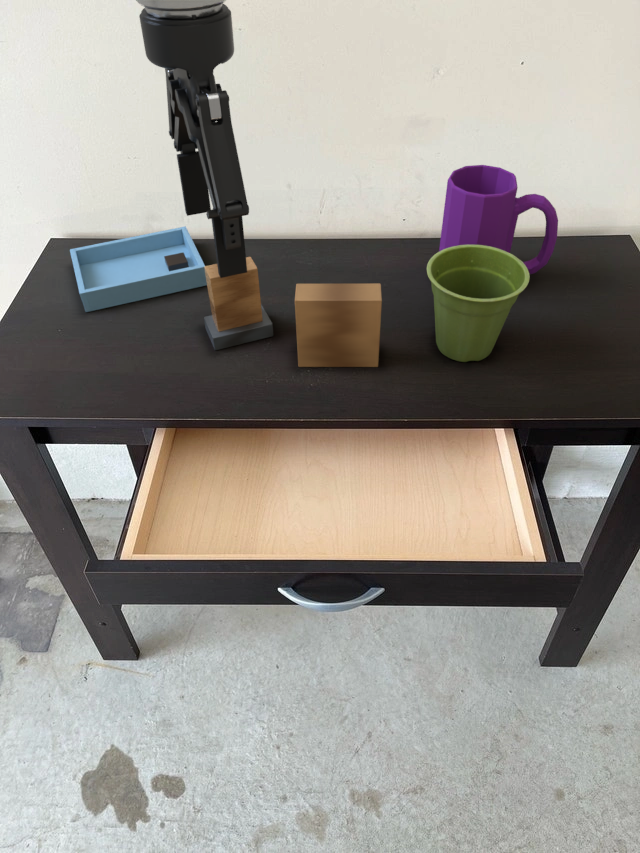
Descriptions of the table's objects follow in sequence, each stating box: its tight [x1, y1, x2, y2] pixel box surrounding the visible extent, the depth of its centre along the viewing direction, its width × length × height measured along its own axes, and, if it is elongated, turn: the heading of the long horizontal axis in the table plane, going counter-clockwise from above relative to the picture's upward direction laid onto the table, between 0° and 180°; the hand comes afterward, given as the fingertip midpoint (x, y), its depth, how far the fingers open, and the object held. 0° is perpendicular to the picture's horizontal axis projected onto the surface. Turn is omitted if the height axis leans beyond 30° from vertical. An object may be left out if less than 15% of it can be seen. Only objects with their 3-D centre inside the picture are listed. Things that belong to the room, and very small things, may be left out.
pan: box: [69, 225, 207, 313], centre depth 97 cm, size 18×13×3 cm
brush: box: [203, 256, 274, 351], centre depth 84 cm, size 8×5×10 cm, turn 111°
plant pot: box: [426, 245, 531, 363], centre depth 81 cm, size 12×12×11 cm
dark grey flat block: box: [164, 252, 189, 271], centre depth 99 cm, size 3×3×1 cm
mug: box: [438, 164, 559, 275], centre depth 90 cm, size 9×16×15 cm, turn 82°
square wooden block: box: [294, 282, 383, 368], centre depth 80 cm, size 10×4×10 cm, turn 89°
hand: (214, 241), depth 69 cm, fingers open, 13 cm apart
